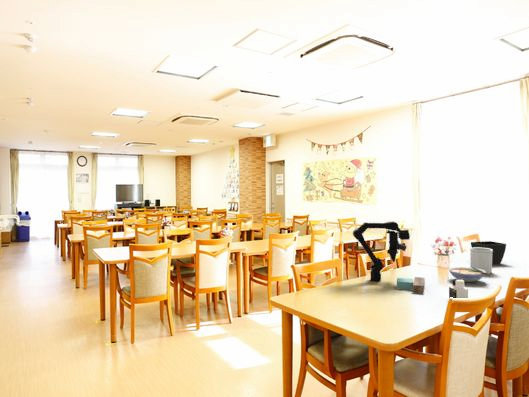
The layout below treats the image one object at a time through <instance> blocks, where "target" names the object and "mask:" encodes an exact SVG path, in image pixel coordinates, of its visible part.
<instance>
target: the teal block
mask: <svg viewBox="0 0 529 397" xmlns="http://www.w3.org/2000/svg"><path fill="white" fill-rule="evenodd" d="M413 283H414V278H406V277H397V278H396V289H397V290H398V289H399V290H408V291H413Z"/></svg>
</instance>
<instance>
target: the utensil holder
mask: <svg viewBox="0 0 529 397" xmlns="http://www.w3.org/2000/svg"><path fill="white" fill-rule="evenodd" d="M469 252H470V254H469V255H470V256H469V257H470V262H469V263H470V266H472V267H474V268H477V269H482V270H484V271H486V273H487V275H489V274H490V275H491V274H492V273H493V272H492V270H493V264H492V252H493V250H492V249H489V248H481V247H473V248H472V247H470V248H469ZM470 266H469V267H470ZM472 267H470V268H472Z"/></svg>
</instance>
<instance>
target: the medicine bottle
mask: <svg viewBox="0 0 529 397" xmlns="http://www.w3.org/2000/svg"><path fill="white" fill-rule="evenodd" d="M448 294H449V295H448V299H449V298H450V297H453V298H468V299H469V289H468V288H466V287H465V282H464V280H462V279H457V278H453V279H452V286H449V287H448Z"/></svg>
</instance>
